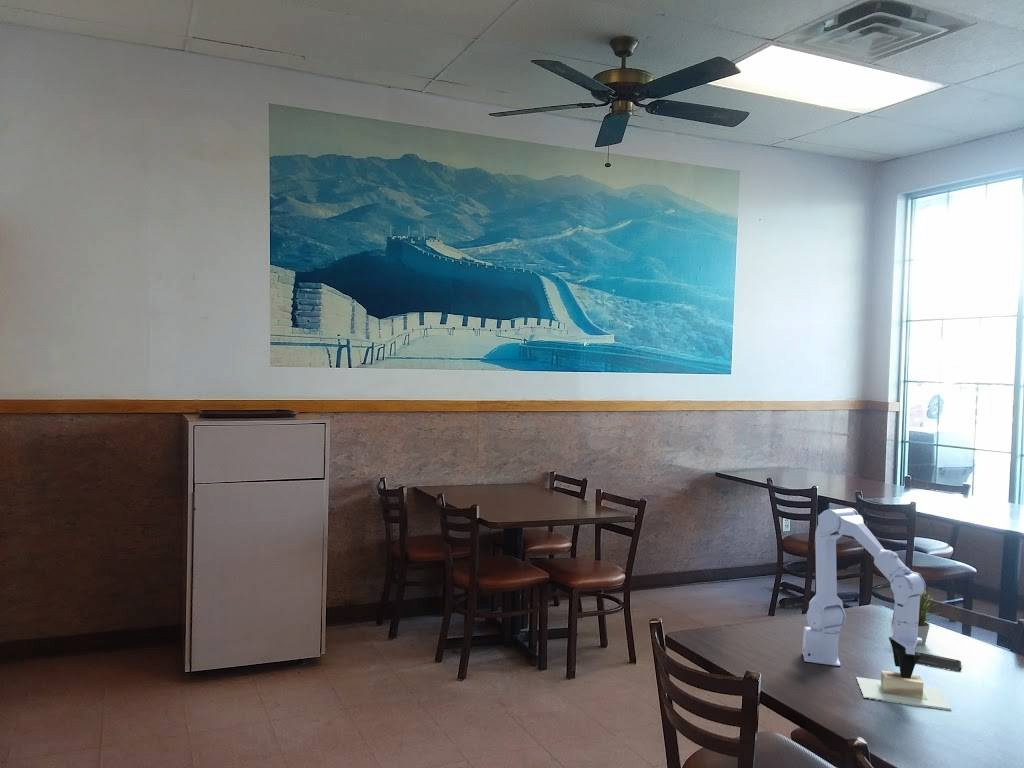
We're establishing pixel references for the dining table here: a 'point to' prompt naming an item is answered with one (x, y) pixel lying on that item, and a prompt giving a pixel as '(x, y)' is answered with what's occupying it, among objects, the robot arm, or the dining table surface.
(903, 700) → the mat
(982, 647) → the dining table surface
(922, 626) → the house plant
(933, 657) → the phone
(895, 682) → the card box
